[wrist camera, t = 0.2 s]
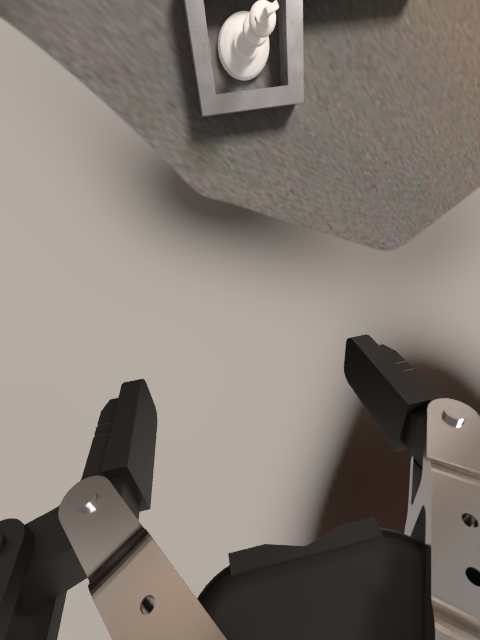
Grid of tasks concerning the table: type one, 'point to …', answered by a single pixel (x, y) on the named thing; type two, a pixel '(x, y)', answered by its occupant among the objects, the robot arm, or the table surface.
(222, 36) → the chess piece
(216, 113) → the collar block
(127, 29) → the table surface
